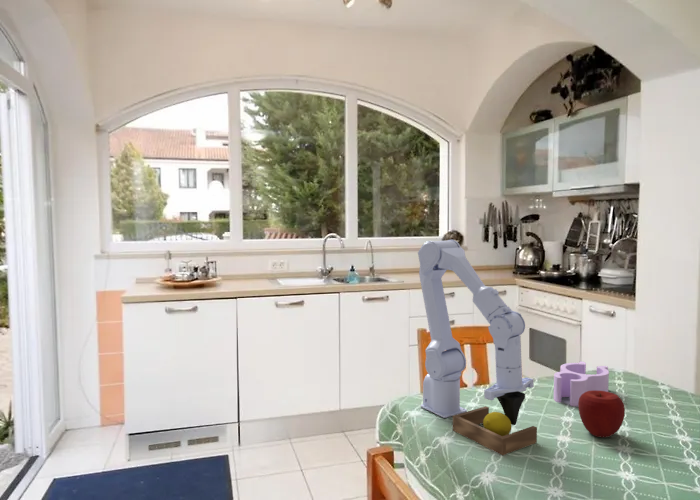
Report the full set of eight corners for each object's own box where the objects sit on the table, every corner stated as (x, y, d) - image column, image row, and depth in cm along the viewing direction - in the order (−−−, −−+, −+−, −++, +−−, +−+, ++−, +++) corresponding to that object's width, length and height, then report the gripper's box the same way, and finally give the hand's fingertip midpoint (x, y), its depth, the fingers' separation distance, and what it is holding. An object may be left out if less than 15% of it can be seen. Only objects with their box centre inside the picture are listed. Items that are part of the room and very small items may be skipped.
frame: (452, 430, 120) (452, 415, 120) (485, 420, 126) (485, 406, 125) (502, 455, 107) (502, 439, 107) (536, 442, 113) (537, 427, 113)
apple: (580, 422, 124) (581, 382, 123) (624, 430, 119) (626, 388, 118) (575, 437, 116) (576, 394, 115) (623, 446, 111) (624, 401, 110)
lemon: (521, 434, 115) (501, 428, 110) (502, 444, 117) (481, 439, 113) (512, 411, 118) (492, 404, 114) (493, 421, 121) (473, 415, 116)
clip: (588, 411, 132) (588, 384, 131) (541, 398, 141) (542, 374, 140) (616, 392, 145) (617, 368, 145) (572, 382, 154) (573, 359, 154)
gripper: (500, 375, 110) (503, 437, 110) (543, 362, 117) (546, 421, 118) (476, 368, 116) (478, 427, 116) (518, 357, 123) (521, 412, 124)
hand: (511, 423), depth 117 cm, fingers closed, pressing on lemon
